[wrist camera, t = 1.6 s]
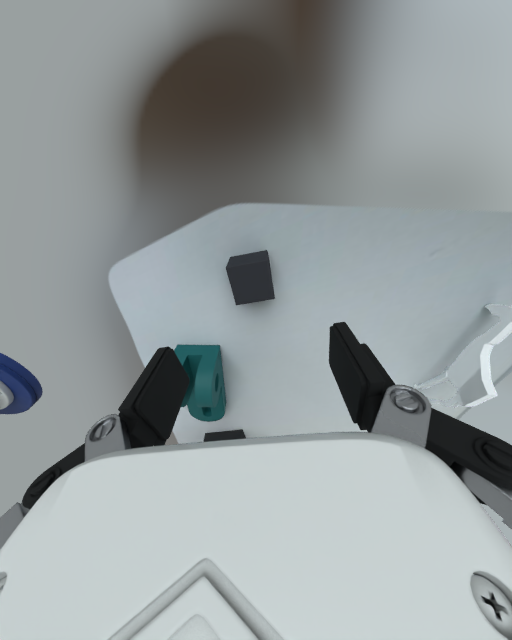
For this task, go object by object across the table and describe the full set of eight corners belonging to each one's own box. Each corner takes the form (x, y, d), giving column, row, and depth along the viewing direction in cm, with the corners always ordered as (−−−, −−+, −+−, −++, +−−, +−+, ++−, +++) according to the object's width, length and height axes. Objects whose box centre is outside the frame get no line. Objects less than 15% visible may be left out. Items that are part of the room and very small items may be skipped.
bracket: (177, 344, 31) (155, 385, 24) (219, 345, 31) (209, 386, 24) (195, 410, 40) (182, 452, 34) (227, 411, 40) (221, 453, 34)
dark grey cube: (230, 257, 23) (225, 267, 20) (267, 250, 23) (268, 259, 19) (238, 290, 26) (236, 305, 22) (272, 285, 25) (274, 298, 22)
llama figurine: (407, 354, 40) (514, 297, 25) (433, 414, 33) (597, 385, 19) (399, 353, 40) (501, 295, 25) (423, 413, 33) (581, 383, 18)
